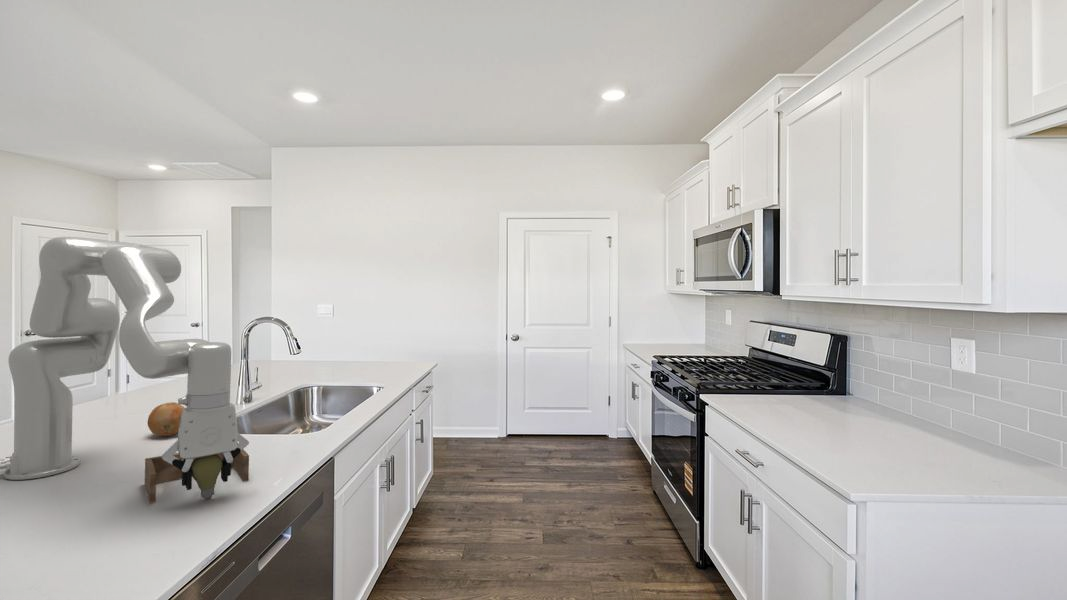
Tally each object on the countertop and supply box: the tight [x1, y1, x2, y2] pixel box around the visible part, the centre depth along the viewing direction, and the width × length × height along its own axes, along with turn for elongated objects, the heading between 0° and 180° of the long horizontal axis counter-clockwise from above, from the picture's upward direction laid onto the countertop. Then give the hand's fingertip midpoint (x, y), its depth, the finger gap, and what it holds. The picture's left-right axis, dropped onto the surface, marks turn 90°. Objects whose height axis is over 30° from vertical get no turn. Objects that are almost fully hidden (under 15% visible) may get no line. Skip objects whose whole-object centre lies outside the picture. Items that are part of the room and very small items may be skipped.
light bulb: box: [190, 454, 222, 501], centre depth 96 cm, size 6×6×10 cm
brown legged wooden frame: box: [144, 442, 250, 504], centre depth 105 cm, size 18×12×6 cm, turn 135°
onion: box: [147, 401, 186, 437], centre depth 136 cm, size 10×10×10 cm
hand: (206, 483), depth 96 cm, fingers open, 5 cm apart
